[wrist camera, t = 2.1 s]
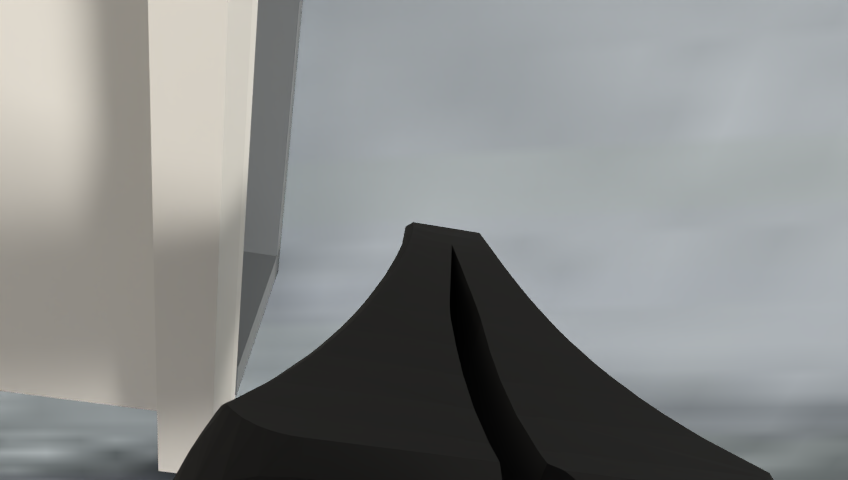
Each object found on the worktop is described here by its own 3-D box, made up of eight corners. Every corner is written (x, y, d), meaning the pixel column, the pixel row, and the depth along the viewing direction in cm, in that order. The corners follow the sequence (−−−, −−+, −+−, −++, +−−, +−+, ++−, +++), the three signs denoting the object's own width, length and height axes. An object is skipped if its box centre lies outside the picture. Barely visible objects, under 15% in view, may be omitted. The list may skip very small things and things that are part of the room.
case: (278, 271, 23) (236, 395, 18) (-125, 210, 21) (-298, 325, 16) (318, -174, 16) (271, -185, 11) (-260, -300, 15) (-621, -380, 10)
